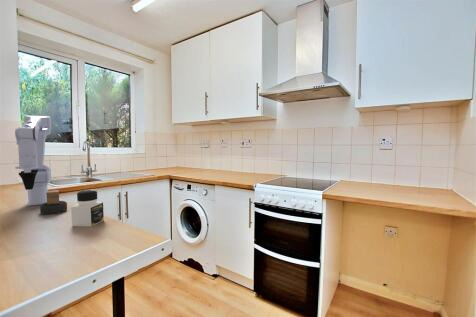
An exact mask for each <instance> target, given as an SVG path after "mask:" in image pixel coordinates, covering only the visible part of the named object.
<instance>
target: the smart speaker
mask: <svg viewBox="0 0 476 317" xmlns="http://www.w3.org/2000/svg"><path fill="white" fill-rule="evenodd" d="M39 209H40V210H39V212H40V214H41V215H45V216H46V215H57V214H60V213H64V212H66V211H67V210H68V203H67V201H64V200H59V203H58V204H50V205H47V203H44V204H40V206H39Z"/></svg>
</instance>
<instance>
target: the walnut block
mask: <svg viewBox="0 0 476 317" xmlns="http://www.w3.org/2000/svg"><path fill="white" fill-rule="evenodd" d="M46 194H47V205H50V204H58V203H59V201H60V191H59V189H56V190H55V189H54V190H48V191H47V192H46Z"/></svg>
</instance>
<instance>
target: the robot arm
mask: <svg viewBox="0 0 476 317" xmlns="http://www.w3.org/2000/svg"><path fill="white" fill-rule="evenodd" d="M51 132H52V118H51V116H50V115H47V116H46V115H45V116H44V115H28V114H26V115H24V118H23V124H22V125H21V126H18V127H16V128H15V131H14V136H15V139H16V145H17V149H18V151H17V152H18V166H15V169H16V170H17V169H18V170H21V171H20V172H18V176H19V177H20V178H21V180H22V184H23V187H24V189H25V191H27V203H26V207H31V206H38V205H40V206H41V205H42V204H44V203H47V194H46V192H47V191H49V190H48V188H49V187H48V184H51V180H52V172H51V168H50V166H47V165H45V151H46V149H45V148H46V139H47V136H49V135H50V134H51Z"/></svg>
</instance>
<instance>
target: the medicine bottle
mask: <svg viewBox="0 0 476 317" xmlns="http://www.w3.org/2000/svg"><path fill="white" fill-rule="evenodd" d="M76 198H77V204H75V205H72V206H71V207H70V210H71V211H70V213H71V214H70V215H71V226H72V227H80V228H81V227H82V228H83V227H87V228H88V227H90V228H91V227H93V226H95V225H97V224H99V223H101V222H103V221H104V219H105V218H104V213H105V212H104V202H103V201H98V191H97V190H95V189H84V190H83V189H82V190H80V191H78V192H77V193H76Z"/></svg>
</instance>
